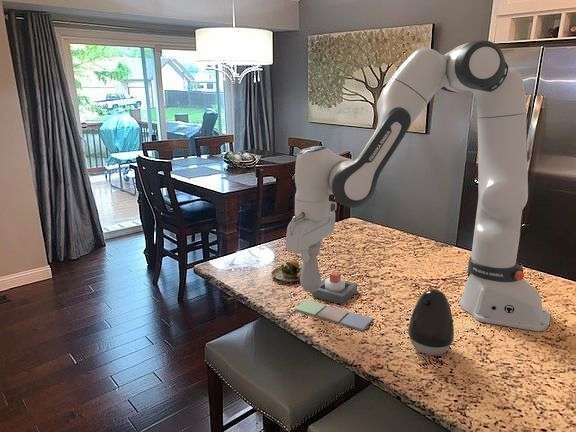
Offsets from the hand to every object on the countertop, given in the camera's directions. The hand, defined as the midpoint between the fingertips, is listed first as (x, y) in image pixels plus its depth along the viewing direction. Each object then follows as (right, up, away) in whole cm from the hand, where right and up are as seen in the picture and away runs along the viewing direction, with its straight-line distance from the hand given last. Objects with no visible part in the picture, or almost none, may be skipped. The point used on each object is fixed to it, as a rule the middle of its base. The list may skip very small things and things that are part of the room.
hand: (310, 257), depth 118 cm
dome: (+8, -12, +13) cm, 19 cm away
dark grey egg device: (+27, -20, -15) cm, 37 cm away
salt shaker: (0, -9, +3) cm, 10 cm away
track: (+6, -16, +1) cm, 17 cm away
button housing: (+8, -12, +13) cm, 19 cm away
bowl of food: (-6, -9, +25) cm, 27 cm away
